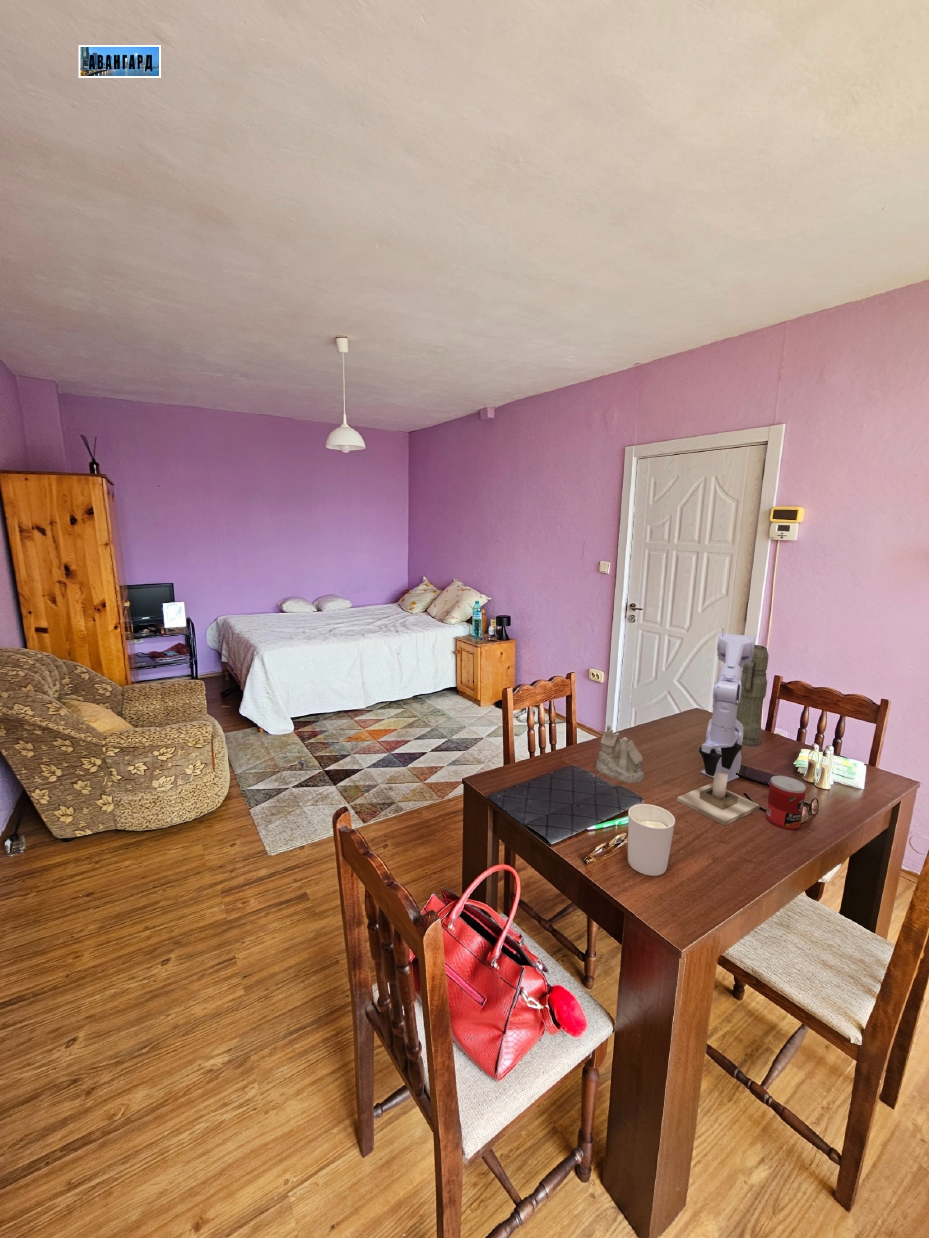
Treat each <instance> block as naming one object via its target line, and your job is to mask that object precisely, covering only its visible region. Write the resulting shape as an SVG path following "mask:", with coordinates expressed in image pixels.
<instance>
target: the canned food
mask: <svg viewBox="0 0 929 1238" xmlns="http://www.w3.org/2000/svg"><path fill="white" fill-rule="evenodd" d="M769 782H770V783H769V787H768V793H767V795H768V796H767V805H766V812H765V815H766V819H767V820H768V822H769V823H771V824H772V825H774V826H775V827H778V828H780V829H784V830H789V831H793V830H797V829H799V828H800V826H801V823H802V819H803V818H802V817H803V811H804V805H805V800H806V799H805V798H806V793H807V792H806V791H807V787H806V785H805V784H804V783H803V782H801V781H800V780H798V779H795V778H792V777H789V776H785V775H773V776H772V777H770V780H769Z"/></svg>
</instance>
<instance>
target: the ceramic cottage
mask: <svg viewBox="0 0 929 1238" xmlns="http://www.w3.org/2000/svg"><path fill="white" fill-rule="evenodd" d="M599 746H600V751H599V752H598V756H597V759H596V760H597V761H596V764H595V768H596V770H597V771H598V772H599V773H600V774H603V775H605V776H608V777H610V778H613V779H615V780H618V781H621V782H622V783H623V782H624V783H628V784H633V783H634V784H636V783H639V782H641V781H642V780H643V779H644V777H645V774H644V772H643V771H642V766H643V763H642V761H643V760H644V759H643V756H642V755H641V753H640V752H639V750H638V749H637V748H636V746H635V743H634V741H633V740H632V739H631V740H629V739H628V737H626V736H624V737H622V738H620V733H619V732H616V733H614V730H613V729H612V728H611V725H609V724H608V725H607V726H606V730H603V732H602V737H601V739H600V745H599Z"/></svg>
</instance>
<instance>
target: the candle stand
mask: <svg viewBox="0 0 929 1238" xmlns="http://www.w3.org/2000/svg"><path fill="white" fill-rule="evenodd" d="M713 783H714V782H711V783H708V784H706V785H704V786H701V787H699V788H696V789H694V790H691V791H689V792H686V793H684V794H681V795H679V796H677V799H676V801H677V802H678V803H680V804H682V805H684V806H686V807H688V808H690V809H691V810H694V811H695V812H697V813H700V814H701V815H703V816H706V818H709V819H711V820H713V821H715V822H717V823H719V824H721V825H722V826H724V827H725V826H727V825H729V824H732V823H734V822H735V821H738V820H740V819H742V818H744V817H745V816H748V815H749V814H752V813H754V812H755V811H759V809H760V804H758V803H756V802H754V801H752V800H750V799H747V798H746V797H743V796H741V795H740V794H737V793H735V792H734V791H733V792H732V791H731V790H728V789H726V793H725V799H724V800H720V799H718V798H716V797H714V796H712V791H713Z"/></svg>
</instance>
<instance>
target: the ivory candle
mask: <svg viewBox="0 0 929 1238" xmlns="http://www.w3.org/2000/svg"><path fill="white" fill-rule="evenodd" d="M727 777H728V774H727V773H725V772H722V771H716V772H715V774H714V778H713V782H712V783H713V791H712V796H714V797H716V798H718V799H720V800H724V799H725V793H726V790H727V784H728V782H727Z"/></svg>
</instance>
